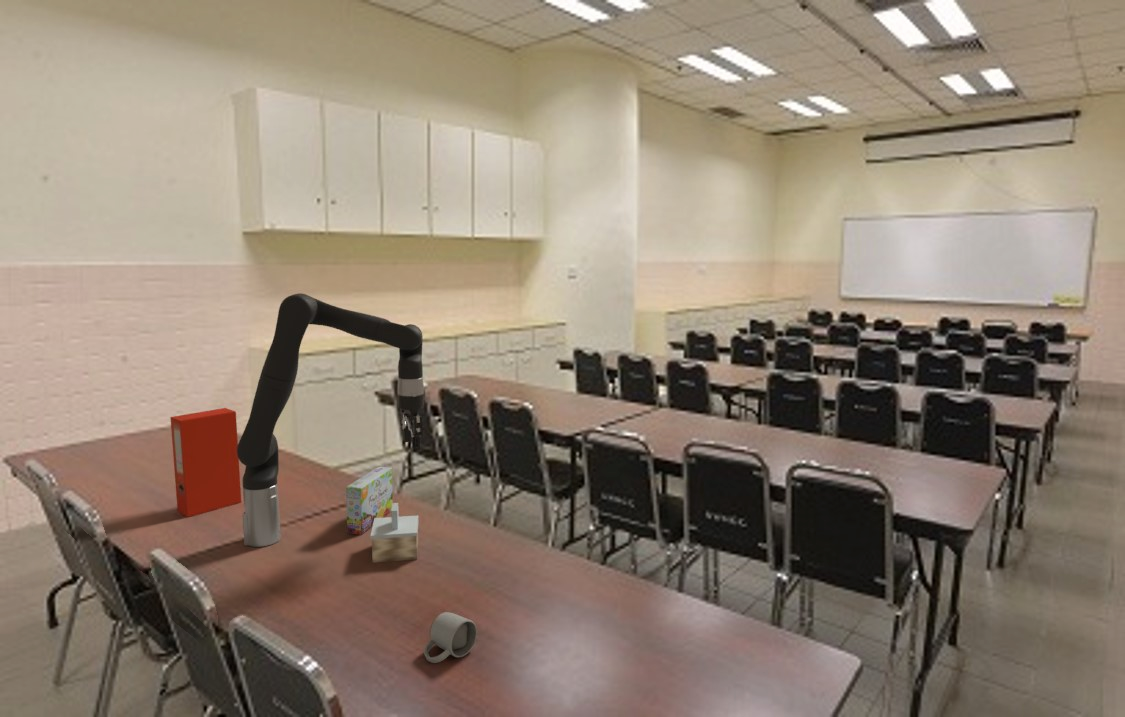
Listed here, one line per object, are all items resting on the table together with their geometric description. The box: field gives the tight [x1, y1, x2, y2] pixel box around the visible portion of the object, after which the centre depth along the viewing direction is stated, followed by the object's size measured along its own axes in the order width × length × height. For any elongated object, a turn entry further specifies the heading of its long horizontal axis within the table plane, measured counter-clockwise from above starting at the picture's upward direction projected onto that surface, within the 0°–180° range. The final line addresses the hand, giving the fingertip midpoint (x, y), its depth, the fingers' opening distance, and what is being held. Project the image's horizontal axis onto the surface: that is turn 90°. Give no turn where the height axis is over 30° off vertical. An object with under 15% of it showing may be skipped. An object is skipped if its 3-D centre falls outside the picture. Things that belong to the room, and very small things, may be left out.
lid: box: [370, 502, 420, 540], centre depth 191 cm, size 13×13×8 cm
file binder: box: [169, 407, 242, 518], centre depth 222 cm, size 8×17×32 cm, turn 141°
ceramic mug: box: [423, 611, 478, 664], centre depth 144 cm, size 11×8×8 cm
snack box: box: [345, 466, 394, 536], centre depth 213 cm, size 21×6×15 cm, turn 168°
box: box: [371, 534, 419, 564], centre depth 192 cm, size 12×12×7 cm
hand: (411, 445), depth 201 cm, fingers open, 8 cm apart
